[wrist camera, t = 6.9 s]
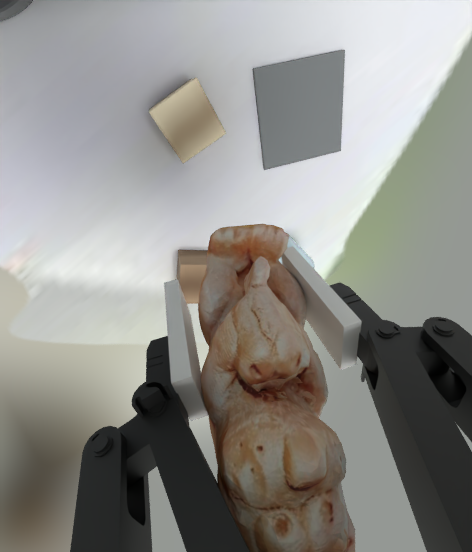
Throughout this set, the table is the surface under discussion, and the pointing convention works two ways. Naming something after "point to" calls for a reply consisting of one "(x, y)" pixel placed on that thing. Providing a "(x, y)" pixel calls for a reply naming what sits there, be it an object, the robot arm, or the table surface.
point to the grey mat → (300, 108)
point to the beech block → (187, 120)
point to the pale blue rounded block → (299, 249)
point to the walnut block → (191, 273)
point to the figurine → (268, 399)
